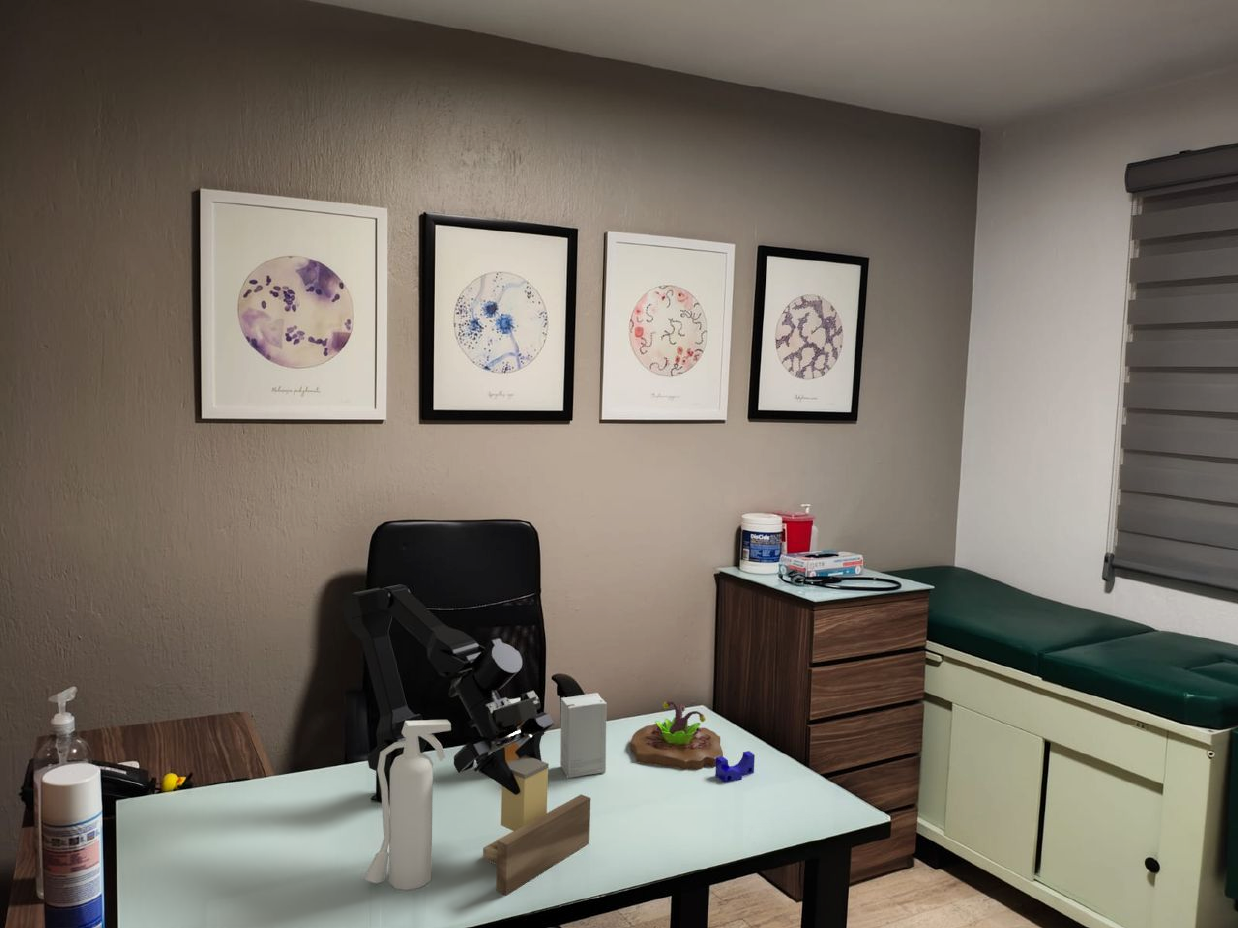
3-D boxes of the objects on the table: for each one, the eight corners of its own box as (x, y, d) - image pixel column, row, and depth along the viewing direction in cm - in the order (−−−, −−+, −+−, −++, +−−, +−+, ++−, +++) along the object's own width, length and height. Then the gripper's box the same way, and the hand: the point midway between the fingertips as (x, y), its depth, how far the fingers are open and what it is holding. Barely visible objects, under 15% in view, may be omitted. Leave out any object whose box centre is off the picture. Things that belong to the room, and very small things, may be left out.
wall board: (458, 871, 138) (459, 822, 137) (543, 824, 154) (544, 780, 153) (505, 895, 131) (506, 844, 131) (589, 843, 147) (590, 797, 147)
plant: (632, 731, 198) (633, 683, 197) (718, 735, 197) (720, 687, 196) (628, 768, 178) (630, 715, 177) (724, 773, 177) (726, 720, 176)
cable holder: (724, 783, 172) (725, 764, 172) (715, 776, 175) (716, 757, 175) (758, 776, 176) (759, 757, 176) (748, 769, 179) (749, 750, 179)
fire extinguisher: (359, 874, 136) (366, 718, 133) (436, 861, 141) (444, 711, 139) (366, 898, 129) (374, 736, 127) (446, 883, 135) (456, 727, 133)
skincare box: (597, 761, 180) (599, 691, 179) (606, 774, 174) (608, 701, 173) (557, 766, 177) (559, 695, 176) (566, 779, 172) (568, 705, 170)
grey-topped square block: (500, 825, 142) (501, 765, 141) (524, 812, 146) (525, 754, 145) (523, 835, 139) (525, 774, 138) (546, 822, 143) (548, 763, 142)
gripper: (467, 693, 135) (517, 783, 130) (547, 665, 150) (595, 745, 145) (432, 729, 141) (479, 817, 135) (513, 699, 156) (558, 777, 150)
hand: (530, 787), depth 141 cm, fingers closed on grey-topped square block, 5 cm apart
